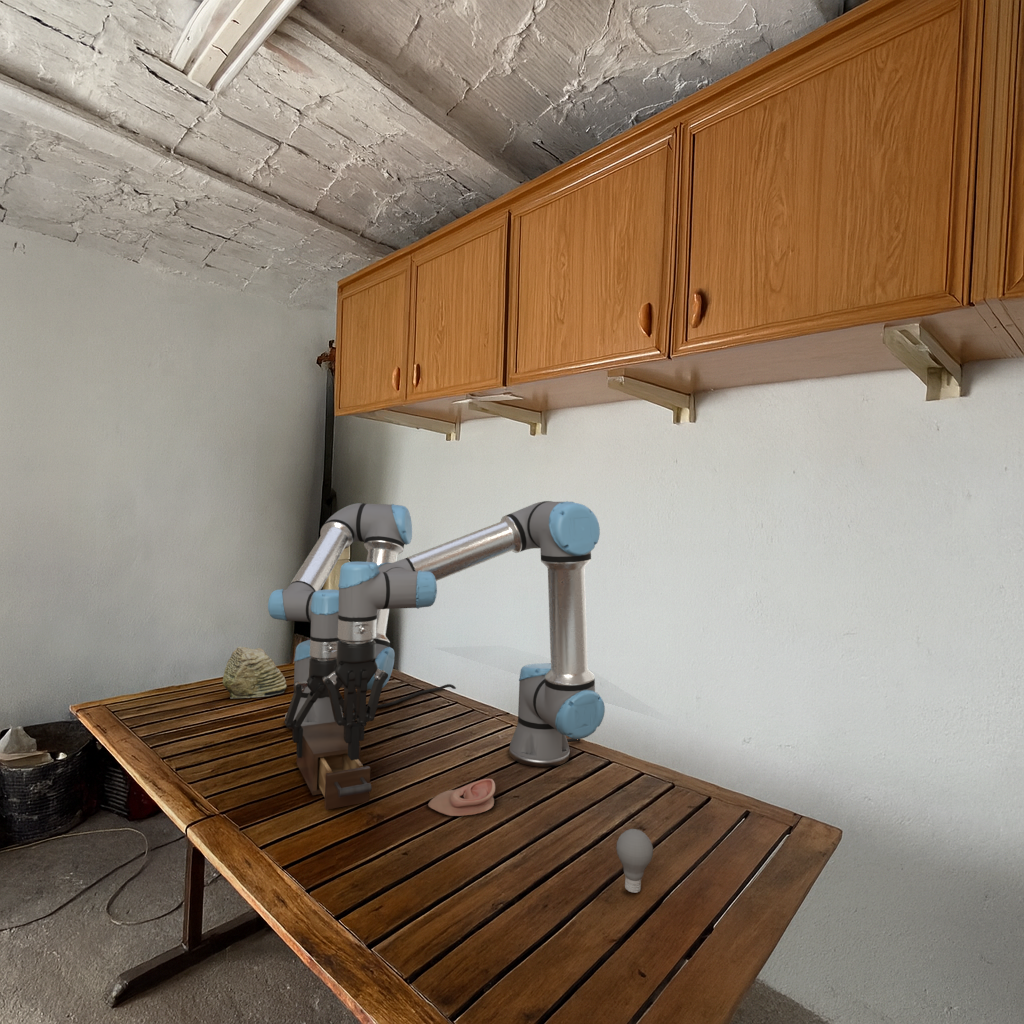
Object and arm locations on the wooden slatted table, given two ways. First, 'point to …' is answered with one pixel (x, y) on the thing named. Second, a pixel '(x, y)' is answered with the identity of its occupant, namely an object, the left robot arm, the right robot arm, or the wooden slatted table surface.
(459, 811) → the anatomical model
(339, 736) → the cabinet
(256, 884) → the wooden slatted table surface
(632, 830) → the light bulb
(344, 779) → the drawer
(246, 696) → the fossil
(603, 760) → the wooden slatted table surface
